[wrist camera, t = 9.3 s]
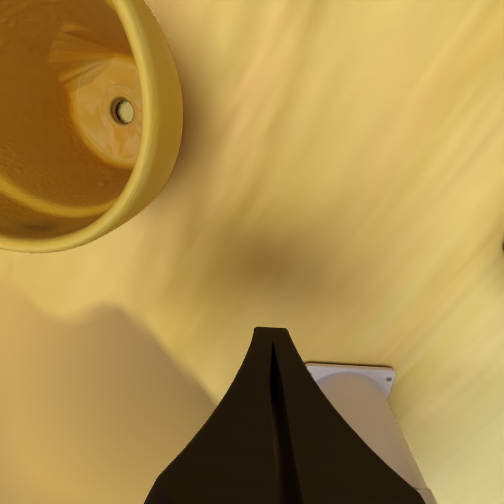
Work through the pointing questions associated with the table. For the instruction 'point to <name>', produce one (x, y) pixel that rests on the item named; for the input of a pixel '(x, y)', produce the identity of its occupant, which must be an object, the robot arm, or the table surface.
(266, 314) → the table surface
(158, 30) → the plant pot
